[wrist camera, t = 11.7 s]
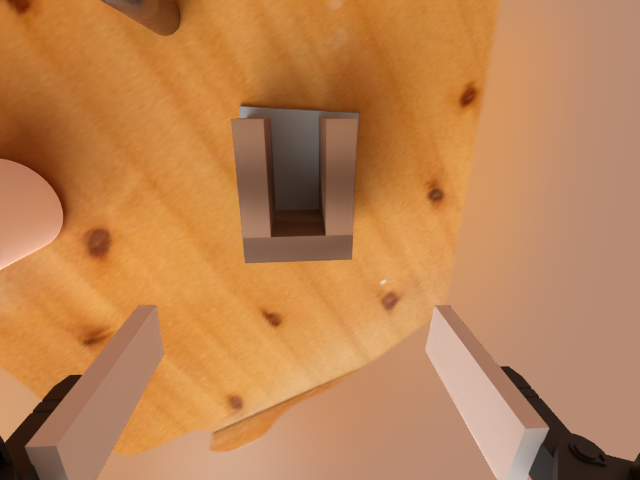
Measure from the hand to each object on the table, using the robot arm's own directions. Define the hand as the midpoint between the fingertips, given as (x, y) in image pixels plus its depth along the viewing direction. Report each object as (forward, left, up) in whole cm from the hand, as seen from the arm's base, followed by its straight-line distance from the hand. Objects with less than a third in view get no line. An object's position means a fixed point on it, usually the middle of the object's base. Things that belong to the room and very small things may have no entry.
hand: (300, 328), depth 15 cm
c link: (-4, 0, -16) cm, 17 cm away
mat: (-4, 0, -17) cm, 17 cm away
